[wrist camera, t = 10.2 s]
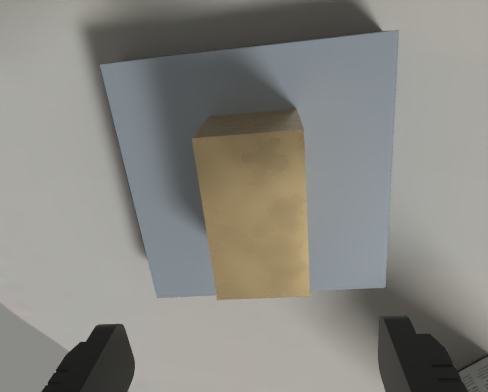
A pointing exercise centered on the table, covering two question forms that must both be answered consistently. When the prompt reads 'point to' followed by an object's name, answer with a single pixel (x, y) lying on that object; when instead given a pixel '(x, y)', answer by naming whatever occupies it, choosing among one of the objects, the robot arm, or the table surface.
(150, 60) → the slate board
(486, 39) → the table surface
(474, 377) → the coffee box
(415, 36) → the table surface
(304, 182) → the tan rectangular block
